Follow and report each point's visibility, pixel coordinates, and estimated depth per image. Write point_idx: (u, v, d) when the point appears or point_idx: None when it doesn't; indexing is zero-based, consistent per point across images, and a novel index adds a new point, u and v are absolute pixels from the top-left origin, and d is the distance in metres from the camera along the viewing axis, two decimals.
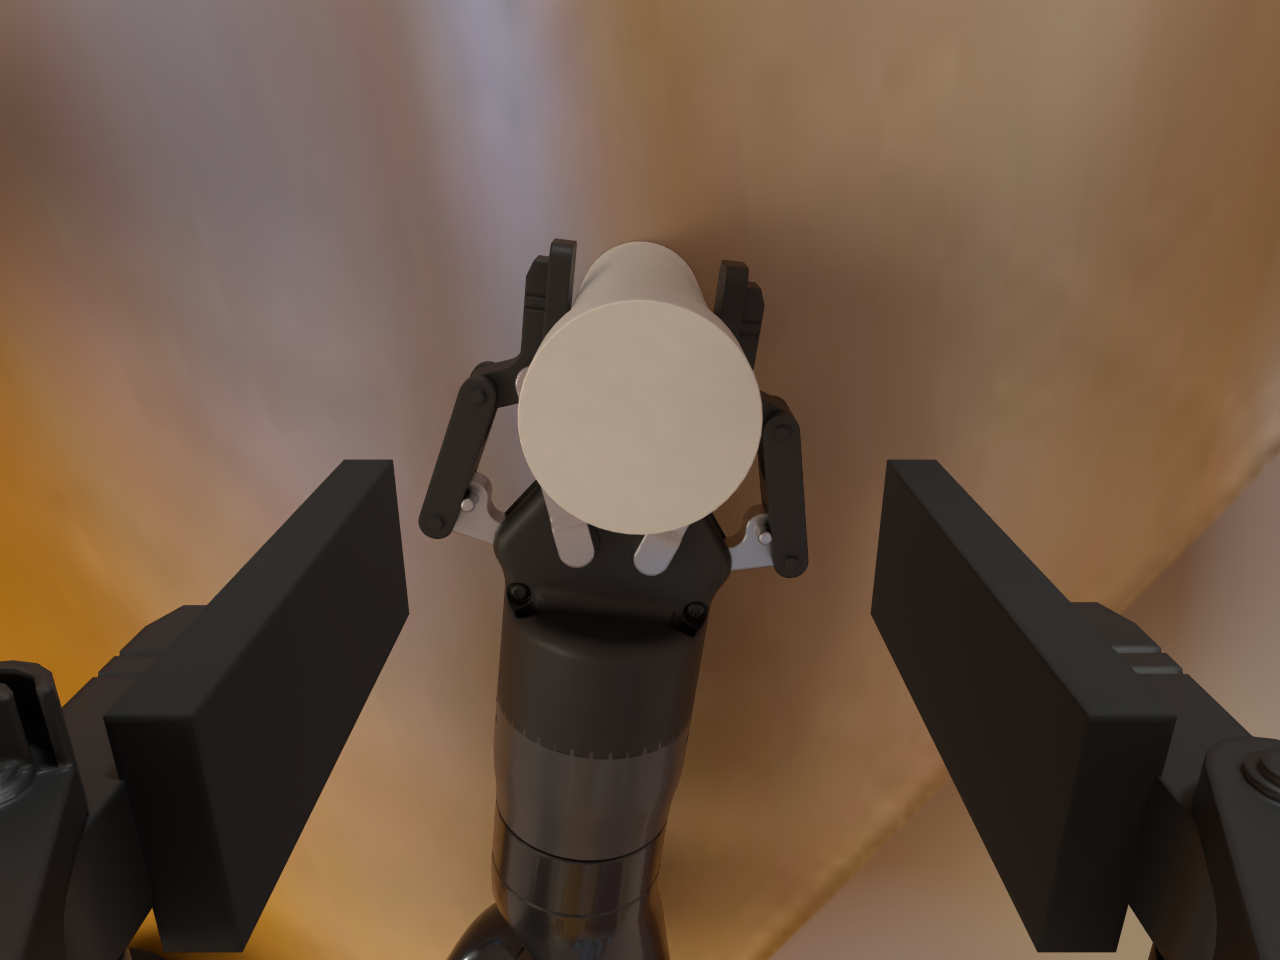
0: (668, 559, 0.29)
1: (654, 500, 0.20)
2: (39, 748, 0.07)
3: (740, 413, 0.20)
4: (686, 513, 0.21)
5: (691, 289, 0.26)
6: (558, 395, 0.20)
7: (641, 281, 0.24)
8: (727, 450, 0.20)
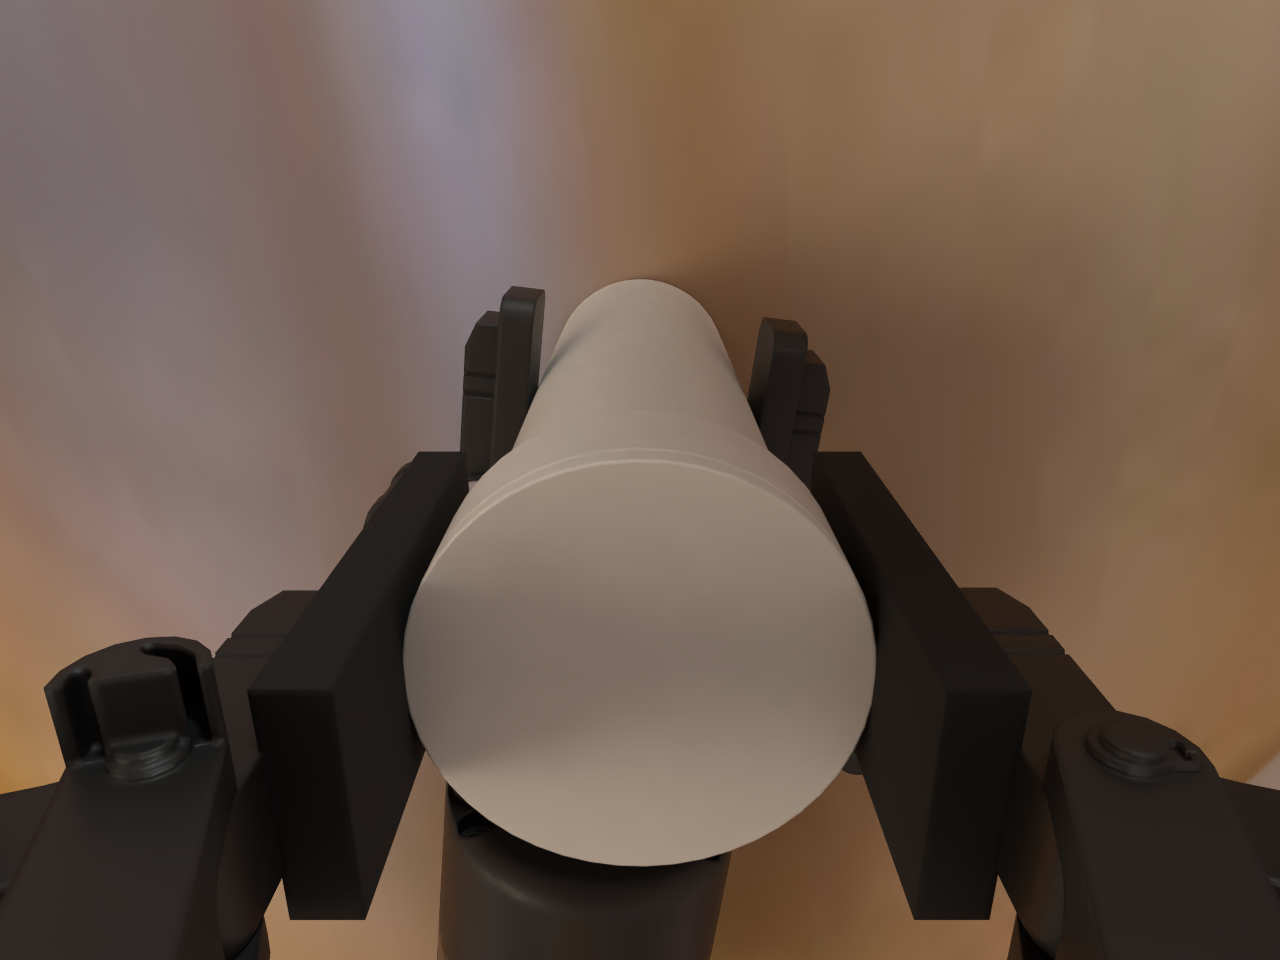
0: None
1: (666, 812, 0.11)
2: (195, 722, 0.08)
3: (834, 666, 0.10)
4: (726, 833, 0.11)
5: (720, 371, 0.17)
6: (480, 634, 0.10)
7: (642, 372, 0.14)
8: (806, 729, 0.10)
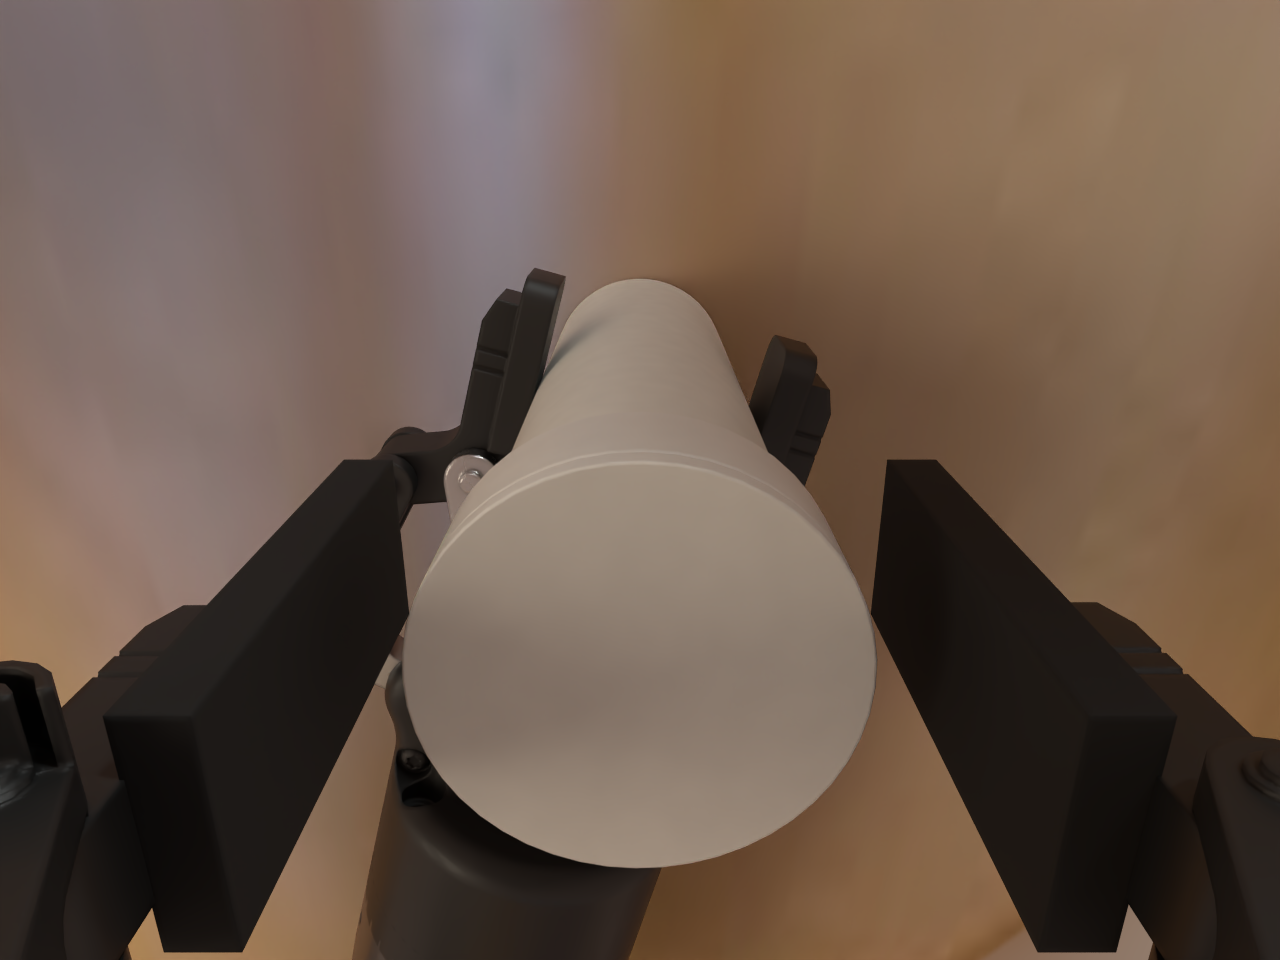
0: None
1: (803, 685, 0.10)
2: (38, 748, 0.07)
3: (655, 506, 0.09)
4: (847, 634, 0.10)
5: (731, 381, 0.17)
6: (561, 800, 0.11)
7: (662, 371, 0.15)
8: (730, 541, 0.10)
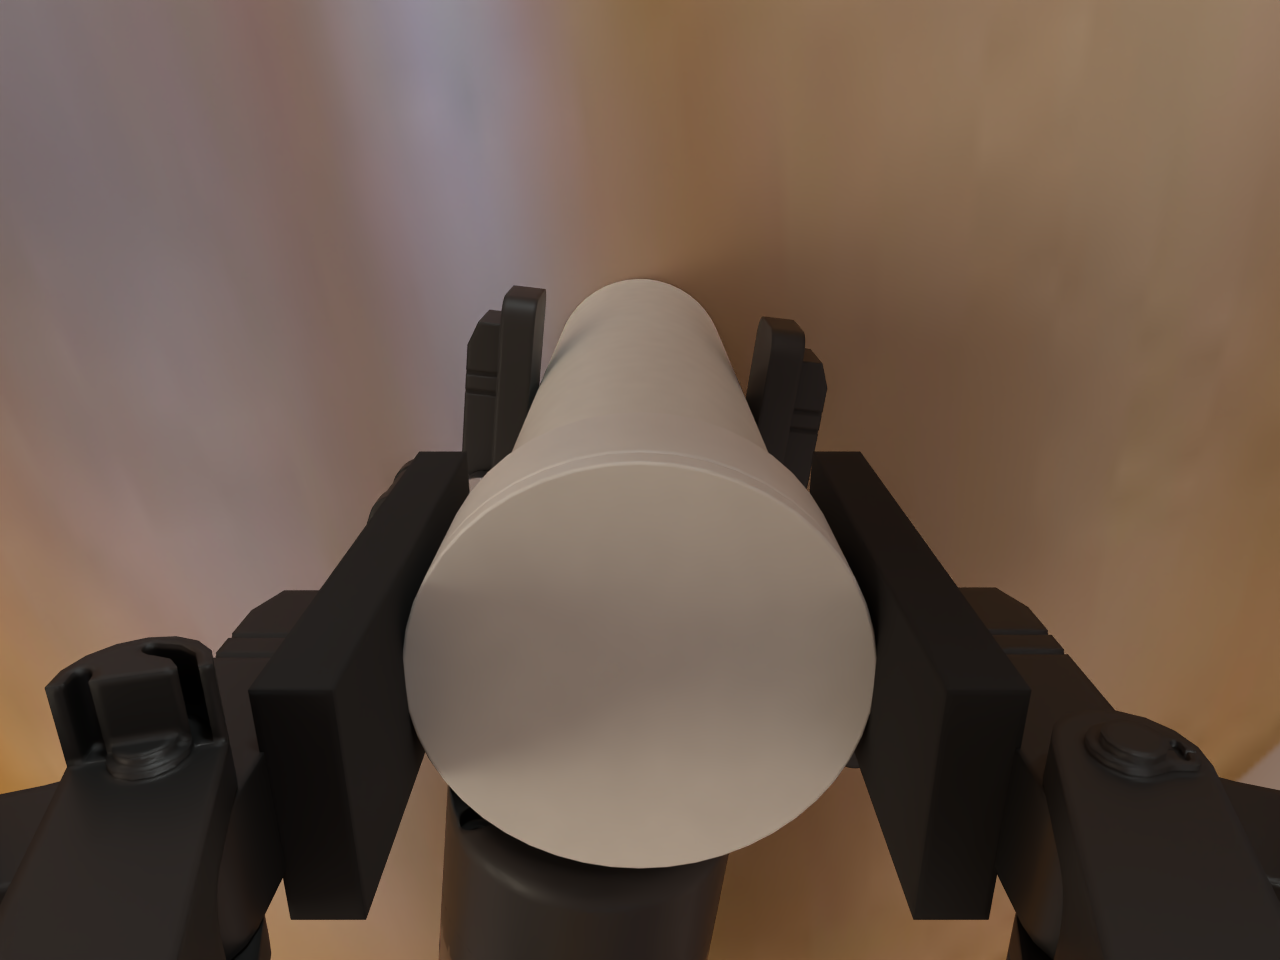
0: None
1: (803, 665, 0.10)
2: (195, 722, 0.08)
3: (624, 506, 0.09)
4: (839, 608, 0.10)
5: (719, 369, 0.17)
6: (582, 808, 0.11)
7: (641, 370, 0.15)
8: (705, 530, 0.10)
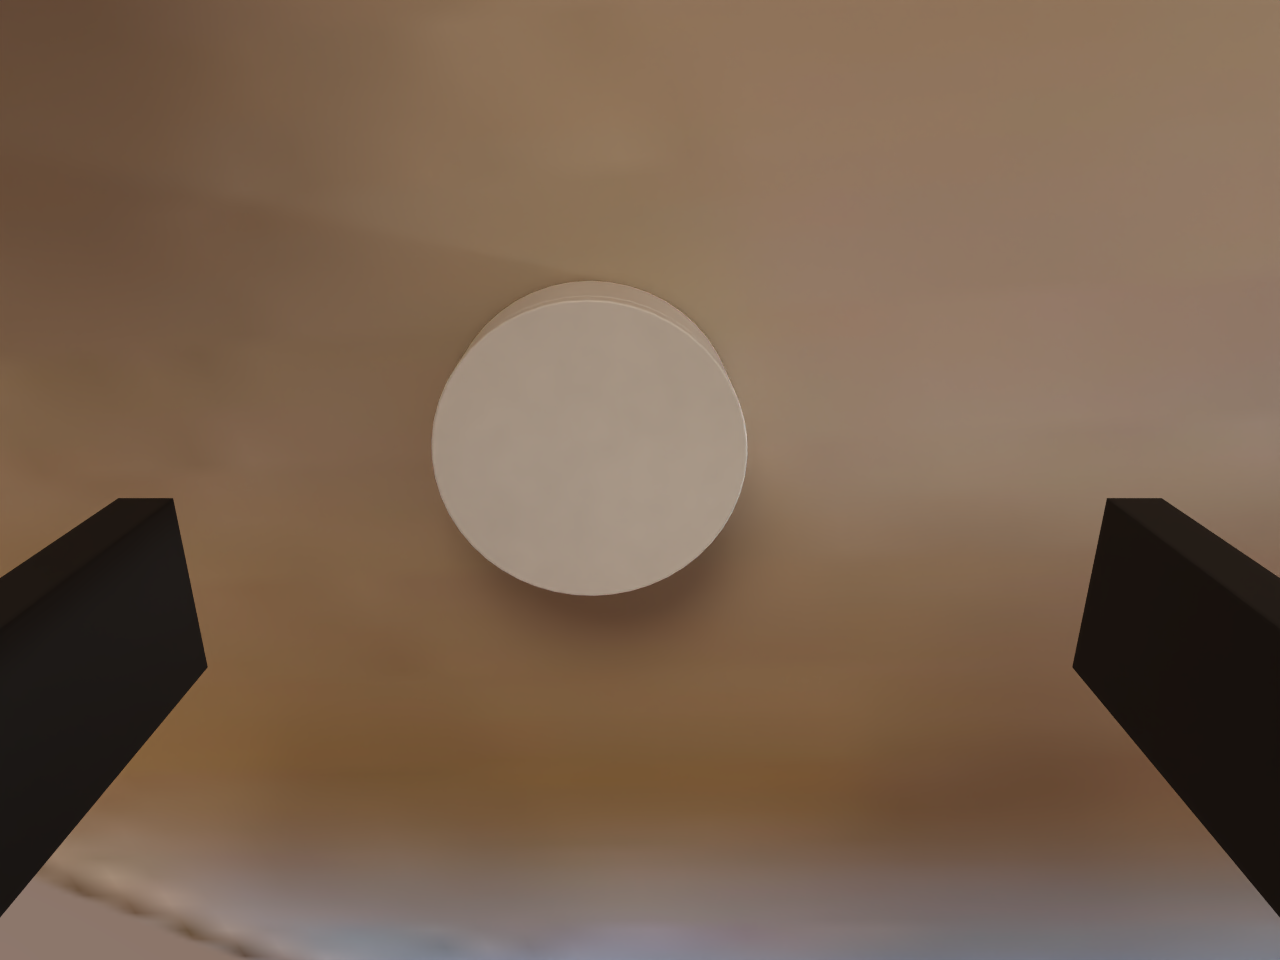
0: None
1: (698, 442, 0.15)
2: None
3: (577, 330, 0.15)
4: (719, 401, 0.15)
5: None
6: (553, 550, 0.16)
7: None
8: (630, 347, 0.15)
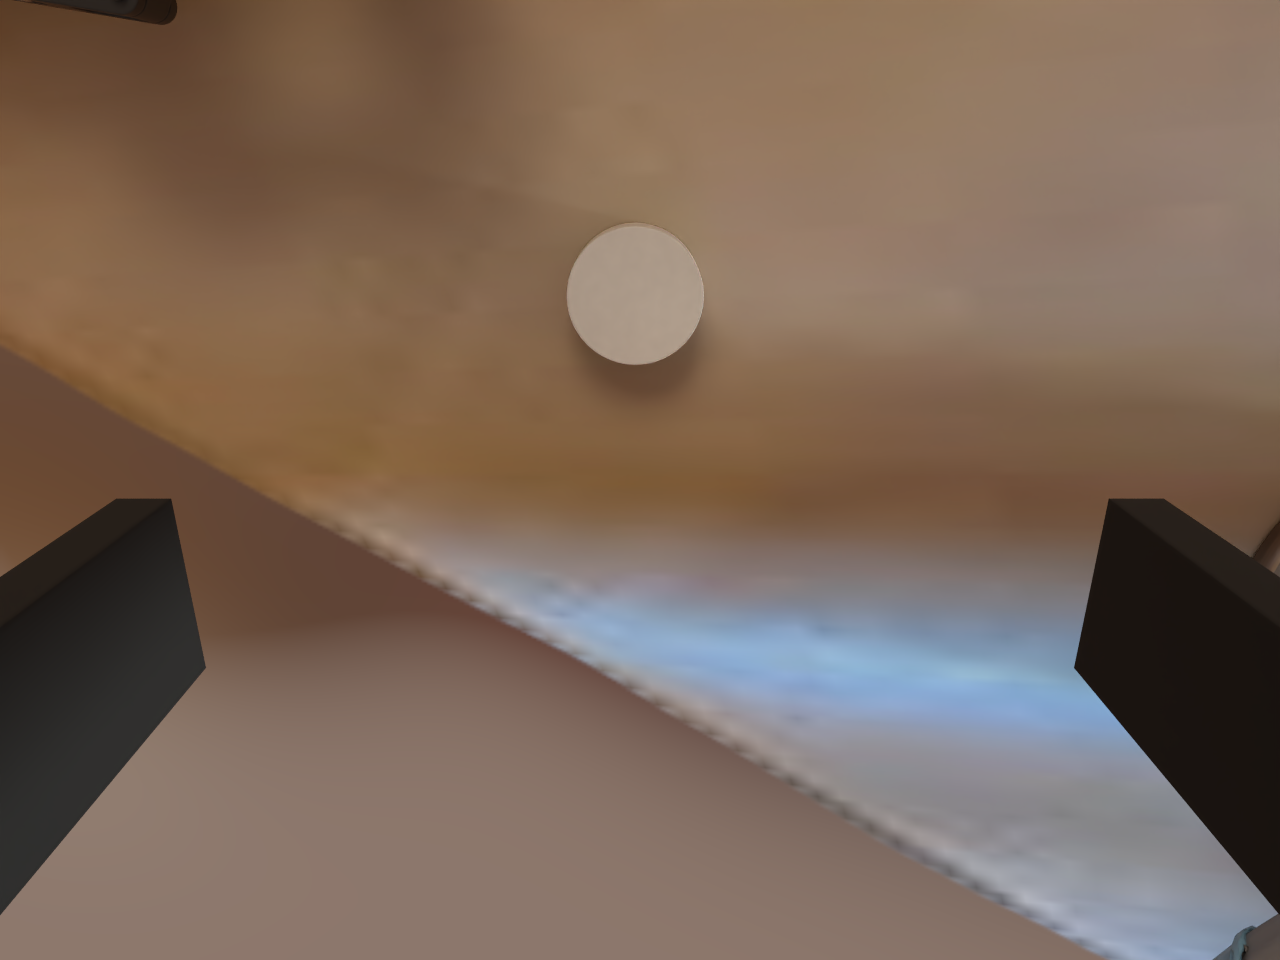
0: None
1: (682, 290, 0.35)
2: None
3: (630, 239, 0.35)
4: (691, 271, 0.35)
5: None
6: (618, 341, 0.36)
7: None
8: (653, 247, 0.35)
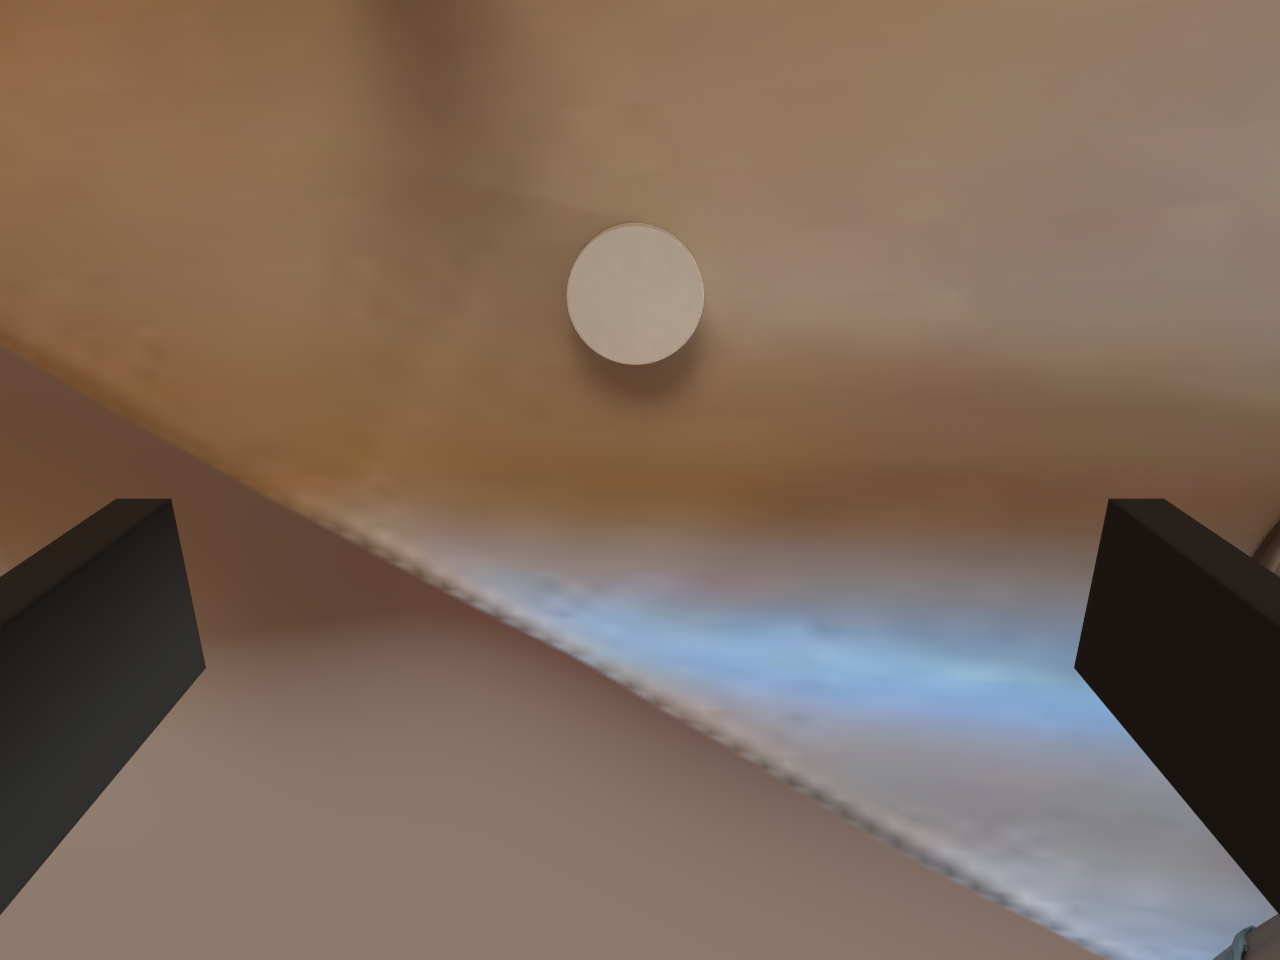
0: None
1: (682, 290, 0.35)
2: None
3: (630, 239, 0.35)
4: (691, 271, 0.35)
5: None
6: (618, 341, 0.36)
7: None
8: (653, 247, 0.35)
